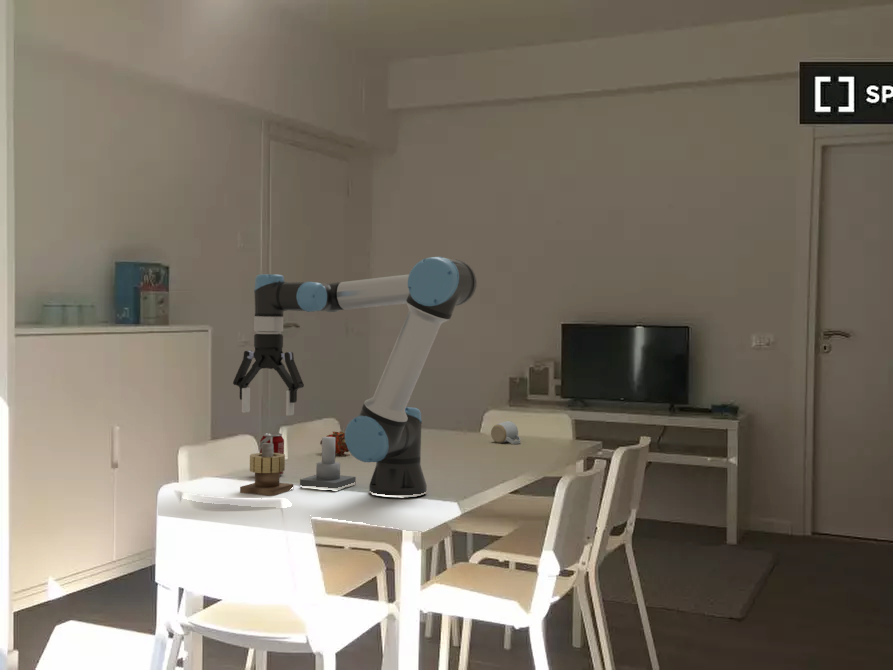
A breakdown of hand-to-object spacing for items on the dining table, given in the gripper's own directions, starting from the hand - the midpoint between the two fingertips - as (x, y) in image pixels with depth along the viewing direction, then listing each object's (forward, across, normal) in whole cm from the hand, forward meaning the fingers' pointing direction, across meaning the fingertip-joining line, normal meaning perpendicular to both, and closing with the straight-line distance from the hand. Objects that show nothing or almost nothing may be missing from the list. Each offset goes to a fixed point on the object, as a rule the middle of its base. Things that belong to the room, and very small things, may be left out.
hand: (267, 413), depth 257 cm
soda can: (+21, +12, -21) cm, 32 cm away
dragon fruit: (+21, +16, -66) cm, 71 cm away
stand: (+20, 0, 0) cm, 20 cm away
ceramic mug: (+21, -24, -124) cm, 128 cm away
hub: (+20, -11, -13) cm, 27 cm away
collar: (+15, 0, 0) cm, 15 cm away
